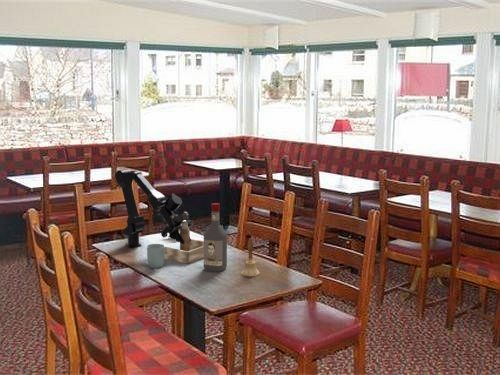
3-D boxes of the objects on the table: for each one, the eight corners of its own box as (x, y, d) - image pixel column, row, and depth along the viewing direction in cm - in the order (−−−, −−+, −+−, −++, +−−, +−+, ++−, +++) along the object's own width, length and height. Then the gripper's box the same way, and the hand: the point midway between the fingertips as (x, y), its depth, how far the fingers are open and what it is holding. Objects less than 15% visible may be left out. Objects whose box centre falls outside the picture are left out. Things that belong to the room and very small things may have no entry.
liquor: (209, 264, 285) (210, 201, 280) (228, 267, 282) (228, 202, 277) (201, 270, 276) (201, 204, 271) (220, 272, 273) (221, 206, 268)
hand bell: (242, 276, 268) (243, 241, 266) (239, 271, 276) (240, 236, 274) (261, 276, 270) (262, 240, 267) (257, 270, 278) (258, 235, 275)
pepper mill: (178, 254, 299) (178, 220, 296) (187, 253, 301) (187, 219, 298) (182, 256, 295) (182, 222, 292) (191, 255, 297) (191, 221, 294)
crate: (161, 259, 293) (161, 246, 292) (187, 249, 309) (187, 238, 308) (188, 264, 284) (188, 252, 283) (213, 254, 301) (213, 243, 300)
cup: (166, 265, 283) (166, 244, 282) (162, 270, 276) (162, 248, 274) (149, 264, 284) (149, 243, 282) (145, 269, 276) (145, 247, 275)
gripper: (165, 210, 288) (184, 236, 284) (190, 203, 304) (208, 228, 300) (152, 224, 294) (171, 250, 290) (177, 217, 309) (195, 242, 305)
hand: (187, 242), depth 296 cm, fingers closed on pepper mill, 5 cm apart
